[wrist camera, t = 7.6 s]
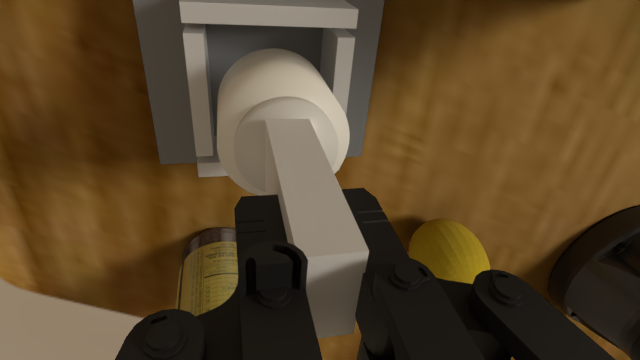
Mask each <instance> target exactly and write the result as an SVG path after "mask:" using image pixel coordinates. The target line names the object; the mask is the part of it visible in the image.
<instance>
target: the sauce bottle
mask: <svg viewBox="0 0 640 360" xmlns="http://www.w3.org/2000/svg"><path fill="white" fill-rule="evenodd" d="M237 284H238V263H237V245H236V228H211V229H208V230H206V231H203V232H202V233H200V234H199V235H197V236H196V237H195V238H193V239H192V240H191V242H190V243H189V244H188V245H187V246H186V248H185V250H184V253H183V261H182V265H181V267H180V272H179V280H178V289H177V298H176V309H180V310H184V311H188V312H190V313H192V314H193V315H194V316H198V315H200V314H203V313H205V312H207V311H210V310H212V309H214V308H216V307H218V306H220V305H221V304H223V303H224V302H225V301H226V300H228V299H229V298H230V296H231V295H232V294H233V293H234V291H235V289H236V286H237Z"/></svg>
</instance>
